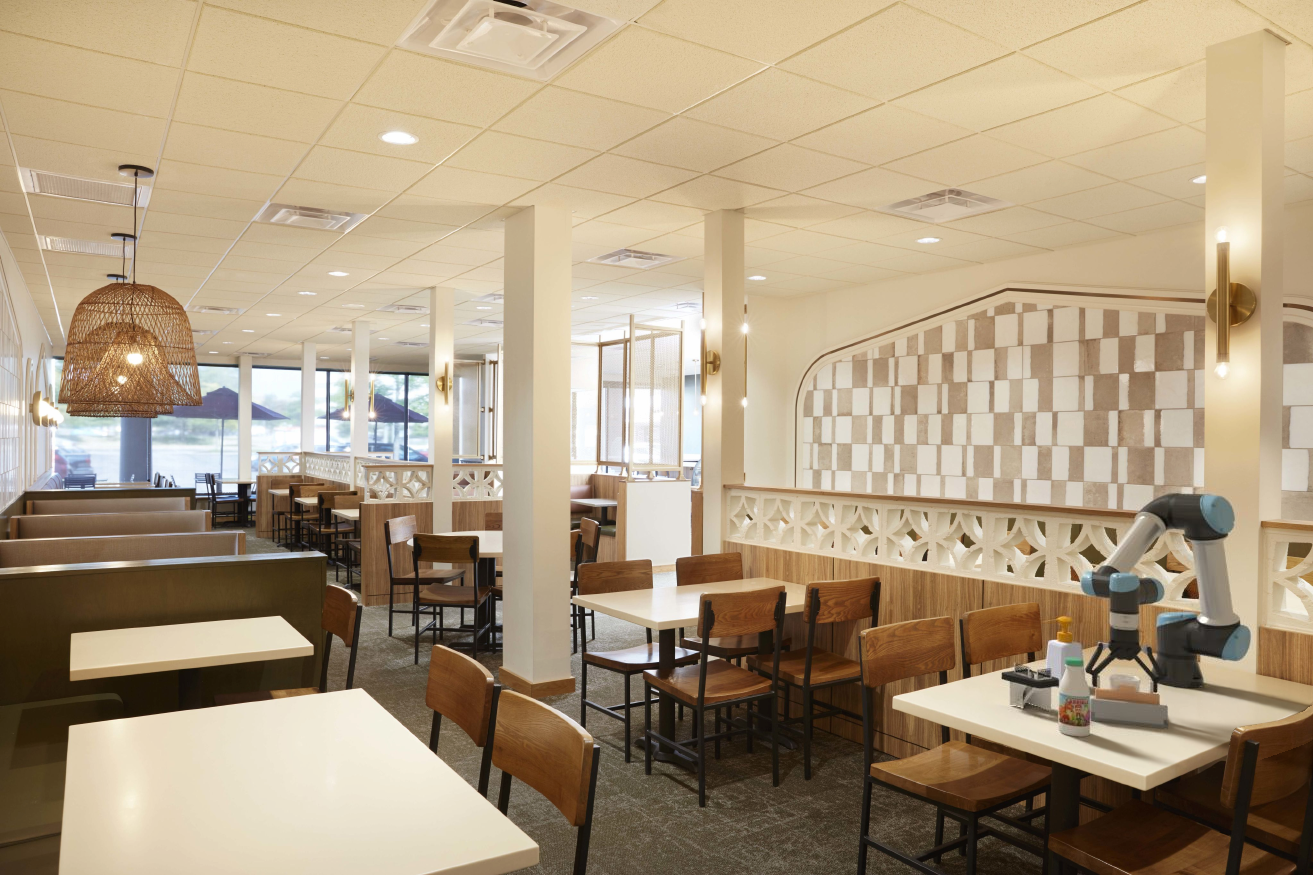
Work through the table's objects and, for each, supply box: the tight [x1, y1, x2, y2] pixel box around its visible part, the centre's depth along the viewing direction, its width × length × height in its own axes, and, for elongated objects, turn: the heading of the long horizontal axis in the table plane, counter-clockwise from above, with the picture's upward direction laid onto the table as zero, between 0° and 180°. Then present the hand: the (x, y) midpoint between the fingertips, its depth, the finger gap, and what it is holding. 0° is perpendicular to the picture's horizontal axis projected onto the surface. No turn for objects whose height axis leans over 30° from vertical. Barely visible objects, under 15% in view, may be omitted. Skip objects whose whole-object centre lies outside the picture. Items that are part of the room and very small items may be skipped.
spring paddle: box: [1094, 685, 1161, 705], centre depth 247 cm, size 16×3×8 cm, turn 69°
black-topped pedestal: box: [1001, 662, 1059, 712], centre depth 258 cm, size 28×26×13 cm
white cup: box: [1109, 674, 1141, 692], centre depth 252 cm, size 8×8×10 cm
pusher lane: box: [1090, 697, 1169, 730], centre depth 252 cm, size 19×19×6 cm
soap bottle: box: [1042, 615, 1086, 685], centre depth 285 cm, size 10×14×22 cm
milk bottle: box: [1057, 657, 1091, 737], centre depth 236 cm, size 8×8×20 cm
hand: (1124, 700), depth 252 cm, fingers open, 13 cm apart
